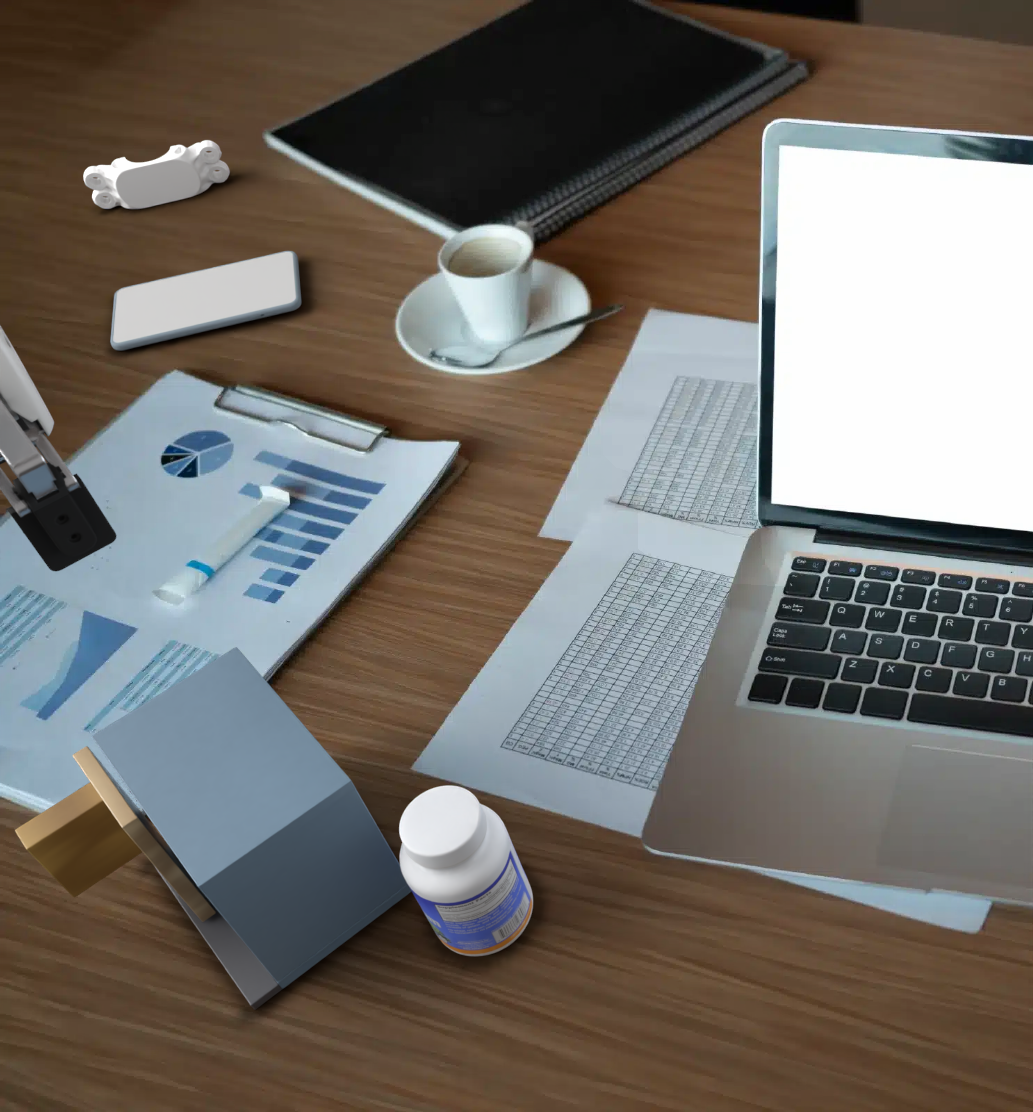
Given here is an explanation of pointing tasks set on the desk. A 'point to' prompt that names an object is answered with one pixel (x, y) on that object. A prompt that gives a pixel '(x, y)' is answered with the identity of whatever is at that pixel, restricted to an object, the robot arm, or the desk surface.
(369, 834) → the grey-blue hollow box
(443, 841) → the pill bottle
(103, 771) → the tan piece
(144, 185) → the curved bracket
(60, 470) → the robot arm
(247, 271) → the smartphone
